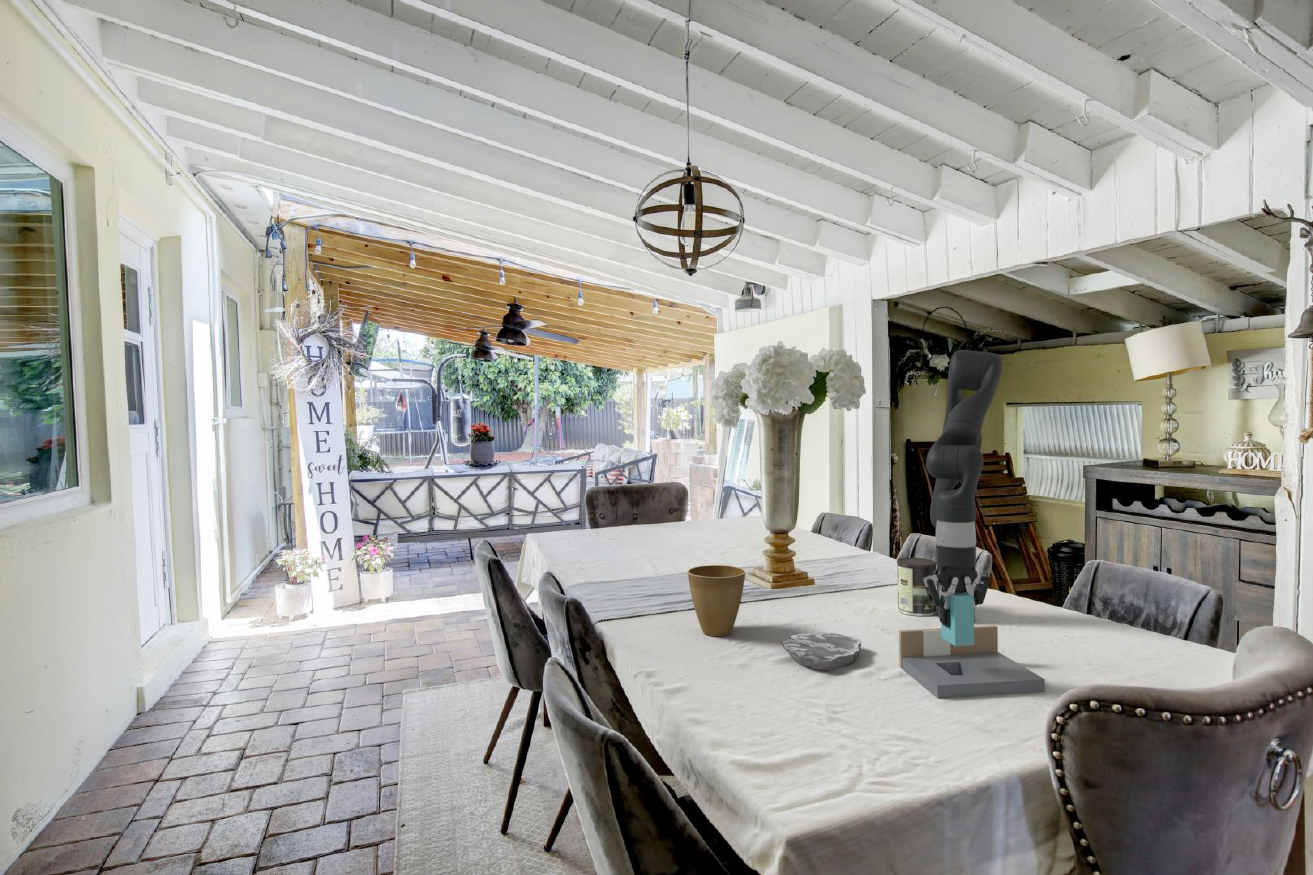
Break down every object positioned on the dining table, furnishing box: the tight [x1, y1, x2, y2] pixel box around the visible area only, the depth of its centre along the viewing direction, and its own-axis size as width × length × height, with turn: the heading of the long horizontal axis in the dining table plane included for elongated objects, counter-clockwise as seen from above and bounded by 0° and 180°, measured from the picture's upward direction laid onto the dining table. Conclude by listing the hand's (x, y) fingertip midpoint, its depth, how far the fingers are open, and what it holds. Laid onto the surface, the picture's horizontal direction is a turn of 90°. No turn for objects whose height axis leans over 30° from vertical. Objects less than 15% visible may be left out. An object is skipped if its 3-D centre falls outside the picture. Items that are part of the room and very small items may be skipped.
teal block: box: [940, 591, 975, 646], centre depth 137 cm, size 6×4×10 cm
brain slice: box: [780, 632, 862, 672], centre depth 153 cm, size 20×17×3 cm
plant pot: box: [687, 564, 746, 637], centre depth 172 cm, size 15×15×16 cm
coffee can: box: [896, 557, 937, 617], centre depth 186 cm, size 10×10×14 cm
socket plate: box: [898, 625, 1046, 699], centre depth 138 cm, size 16×22×8 cm
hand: (956, 625), depth 137 cm, fingers closed on teal block, 4 cm apart
